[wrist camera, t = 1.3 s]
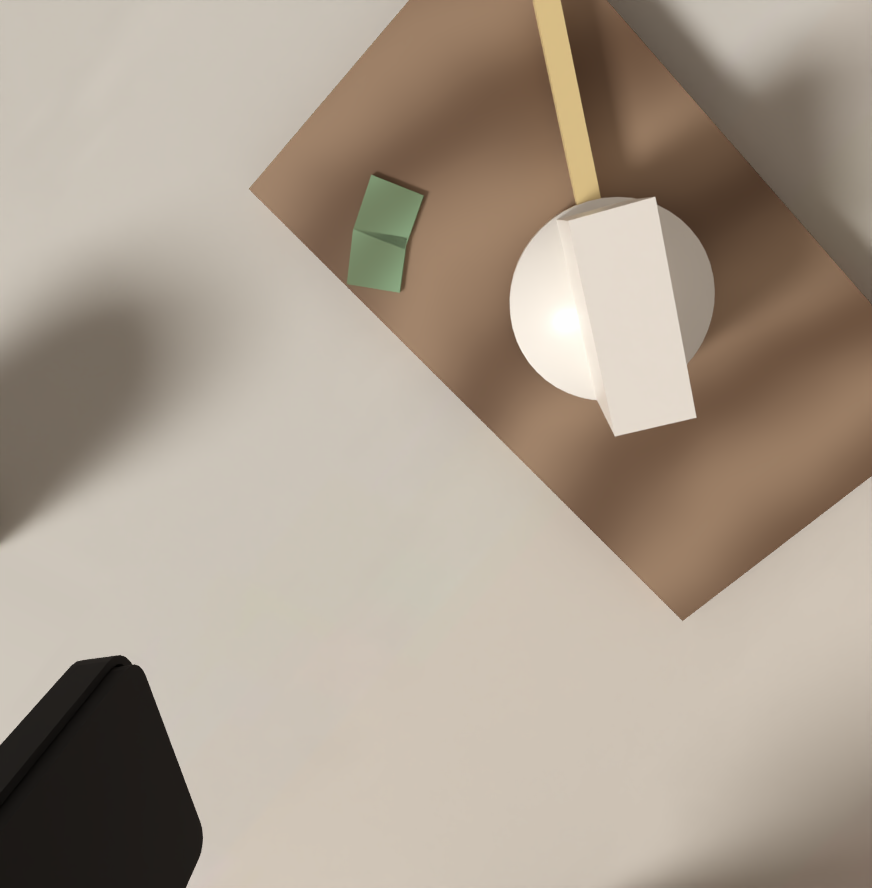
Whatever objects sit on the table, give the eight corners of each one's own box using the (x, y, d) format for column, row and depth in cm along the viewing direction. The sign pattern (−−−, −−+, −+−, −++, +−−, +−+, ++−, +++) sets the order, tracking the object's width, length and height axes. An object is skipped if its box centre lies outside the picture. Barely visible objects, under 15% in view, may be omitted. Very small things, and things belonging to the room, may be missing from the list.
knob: (720, 367, 28) (778, 408, 22) (533, 412, 29) (541, 463, 23) (651, -33, 25) (697, -112, 19) (441, 34, 26) (422, -19, 20)
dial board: (938, 397, 30) (964, 408, 28) (674, 603, 33) (683, 623, 31) (506, -97, 26) (506, -118, 24) (261, 190, 29) (247, 188, 28)
